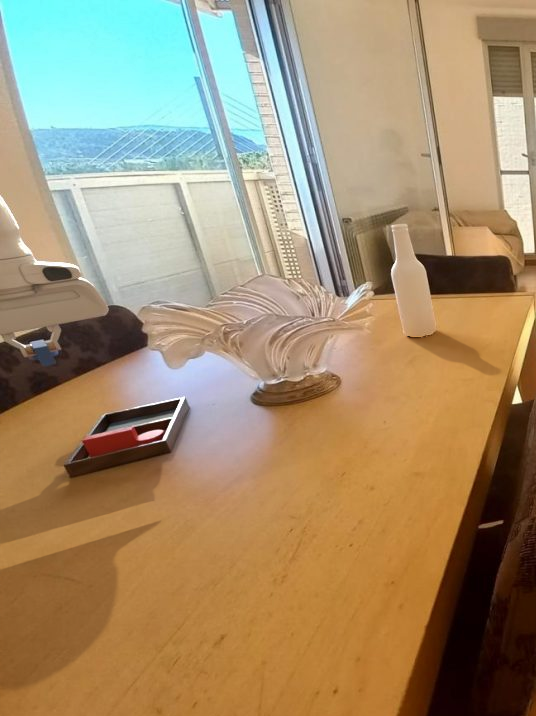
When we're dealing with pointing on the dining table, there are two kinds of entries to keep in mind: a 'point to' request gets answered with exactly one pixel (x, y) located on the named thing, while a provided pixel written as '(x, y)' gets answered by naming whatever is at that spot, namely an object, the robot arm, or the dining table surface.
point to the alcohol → (411, 287)
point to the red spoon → (119, 440)
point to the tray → (143, 420)
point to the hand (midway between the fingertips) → (43, 352)
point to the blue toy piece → (43, 353)
